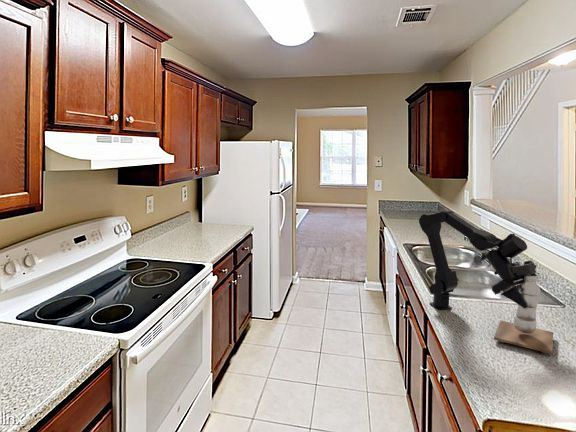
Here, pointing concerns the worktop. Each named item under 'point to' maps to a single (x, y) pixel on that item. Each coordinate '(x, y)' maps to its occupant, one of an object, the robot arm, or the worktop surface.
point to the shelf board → (525, 337)
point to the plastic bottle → (527, 316)
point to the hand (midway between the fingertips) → (531, 305)
